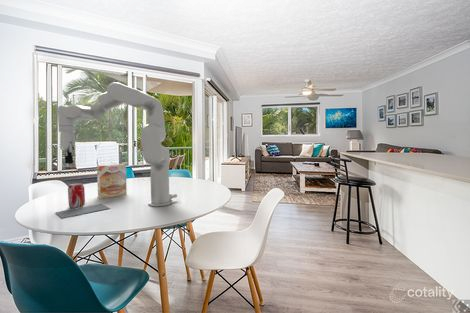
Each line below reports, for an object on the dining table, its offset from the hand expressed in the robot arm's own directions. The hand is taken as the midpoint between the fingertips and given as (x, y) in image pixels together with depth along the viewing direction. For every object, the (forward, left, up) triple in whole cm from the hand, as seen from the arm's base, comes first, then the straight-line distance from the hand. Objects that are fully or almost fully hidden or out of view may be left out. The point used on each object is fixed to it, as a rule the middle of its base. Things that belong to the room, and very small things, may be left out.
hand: (69, 163), depth 127 cm
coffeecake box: (-22, -1, -22) cm, 31 cm away
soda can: (0, +11, -22) cm, 25 cm away
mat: (0, +22, -22) cm, 31 cm away
